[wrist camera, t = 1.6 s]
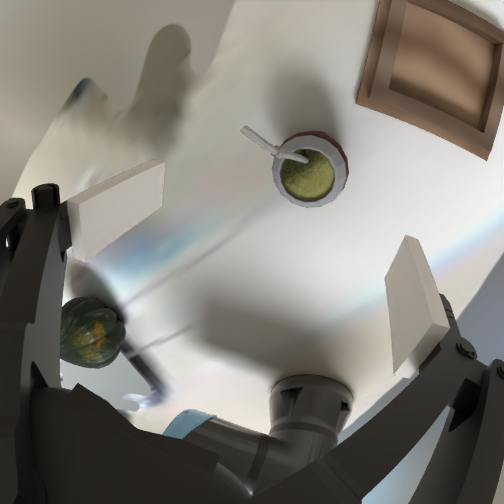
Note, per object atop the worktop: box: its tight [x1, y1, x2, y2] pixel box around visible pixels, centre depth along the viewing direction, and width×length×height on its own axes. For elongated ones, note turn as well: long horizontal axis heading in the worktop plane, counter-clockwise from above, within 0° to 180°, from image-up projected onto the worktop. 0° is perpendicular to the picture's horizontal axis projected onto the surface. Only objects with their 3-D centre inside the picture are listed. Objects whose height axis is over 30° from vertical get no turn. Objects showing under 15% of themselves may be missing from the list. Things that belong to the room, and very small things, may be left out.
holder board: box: [356, 0, 504, 161], centre depth 21 cm, size 16×16×3 cm
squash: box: [60, 297, 126, 369], centre depth 52 cm, size 14×15×15 cm
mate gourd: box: [240, 126, 349, 208], centre depth 25 cm, size 8×8×15 cm
